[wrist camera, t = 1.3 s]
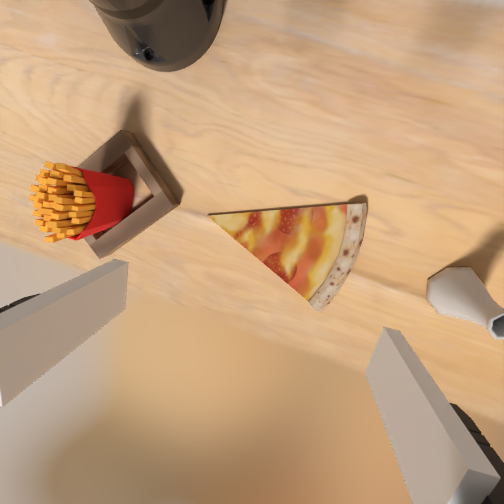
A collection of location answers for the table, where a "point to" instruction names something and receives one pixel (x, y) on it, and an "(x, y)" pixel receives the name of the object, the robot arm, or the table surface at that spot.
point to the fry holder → (163, 200)
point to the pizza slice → (303, 245)
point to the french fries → (79, 201)
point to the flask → (465, 299)
